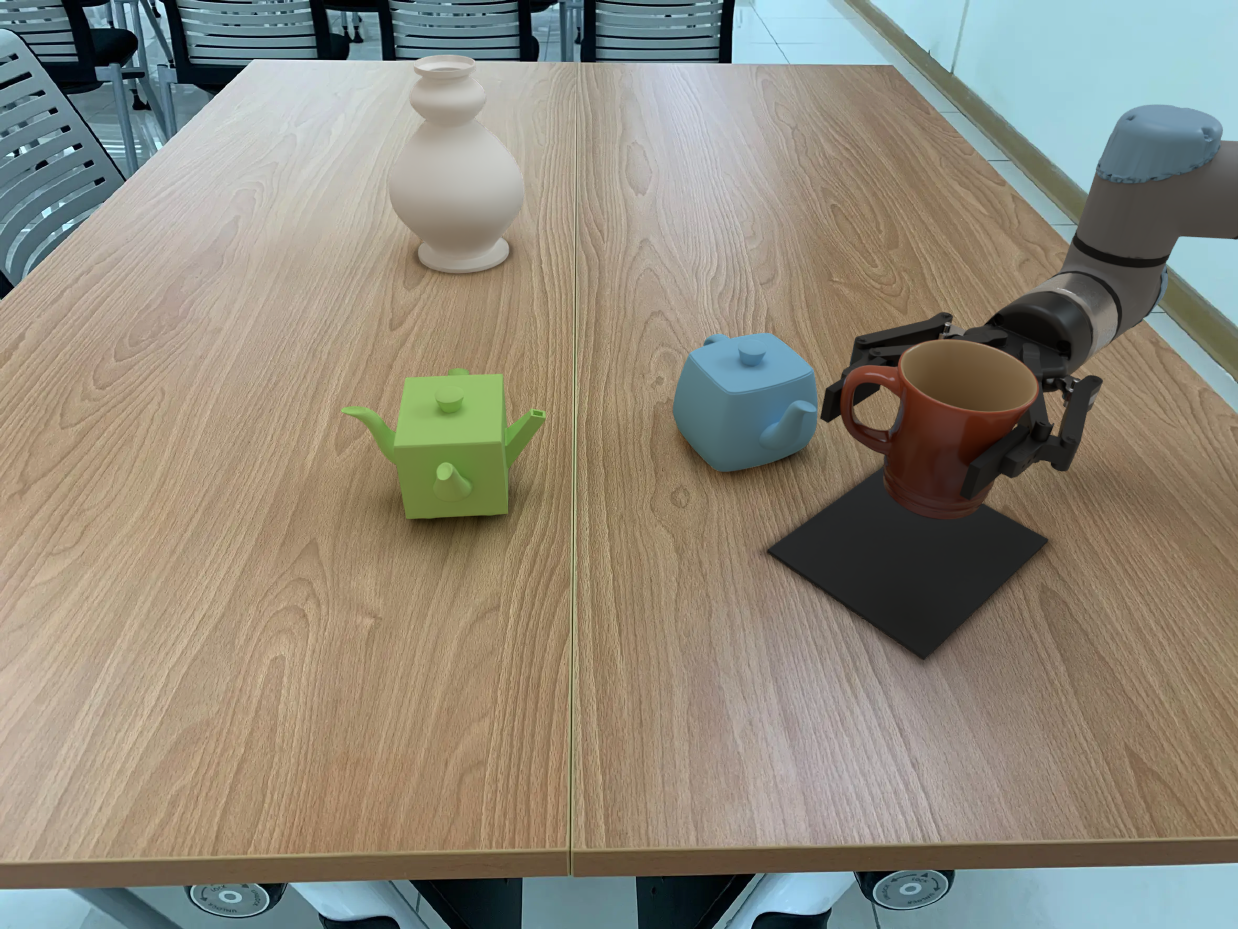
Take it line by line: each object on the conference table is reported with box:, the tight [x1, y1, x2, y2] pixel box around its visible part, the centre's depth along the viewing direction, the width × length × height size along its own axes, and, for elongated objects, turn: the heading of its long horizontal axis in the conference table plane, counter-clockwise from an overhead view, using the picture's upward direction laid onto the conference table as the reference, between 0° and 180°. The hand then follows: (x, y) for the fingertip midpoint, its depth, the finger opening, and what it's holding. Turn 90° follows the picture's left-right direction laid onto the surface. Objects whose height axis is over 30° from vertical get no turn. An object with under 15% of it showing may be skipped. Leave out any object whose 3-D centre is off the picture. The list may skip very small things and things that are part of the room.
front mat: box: [766, 466, 1049, 661], centre depth 79 cm, size 16×20×1 cm
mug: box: [840, 339, 1039, 520], centre depth 64 cm, size 13×9×11 cm
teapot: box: [672, 332, 819, 473], centre depth 86 cm, size 12×18×12 cm
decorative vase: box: [388, 54, 526, 274], centre depth 116 cm, size 18×18×25 cm
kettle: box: [340, 367, 547, 520], centre depth 81 cm, size 15×14×11 cm
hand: (894, 442), depth 61 cm, fingers closed on mug, 11 cm apart
